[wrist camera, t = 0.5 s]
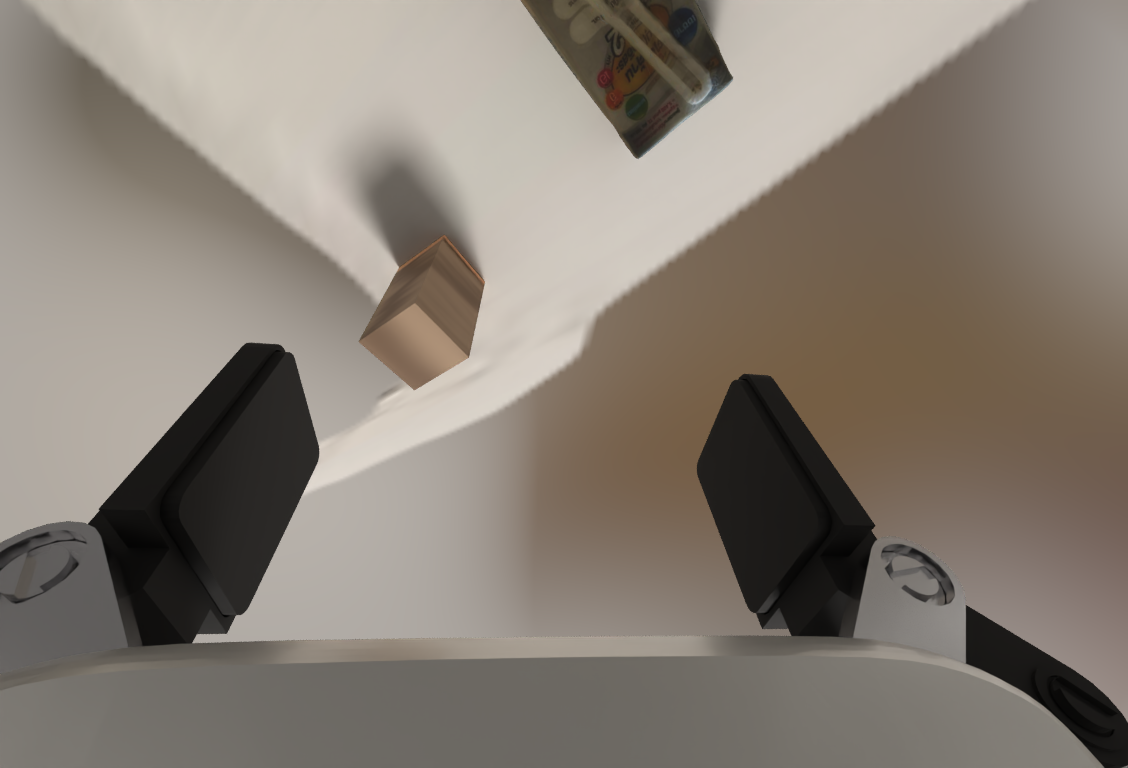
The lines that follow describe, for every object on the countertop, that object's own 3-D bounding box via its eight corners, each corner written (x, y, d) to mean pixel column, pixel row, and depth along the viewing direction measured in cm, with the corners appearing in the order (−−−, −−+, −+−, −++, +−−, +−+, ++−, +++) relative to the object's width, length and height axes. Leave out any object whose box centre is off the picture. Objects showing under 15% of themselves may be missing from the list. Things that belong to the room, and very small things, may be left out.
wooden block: (444, 234, 41) (415, 302, 31) (484, 282, 44) (468, 357, 34) (399, 267, 42) (358, 341, 33) (440, 311, 45) (414, 390, 36)
